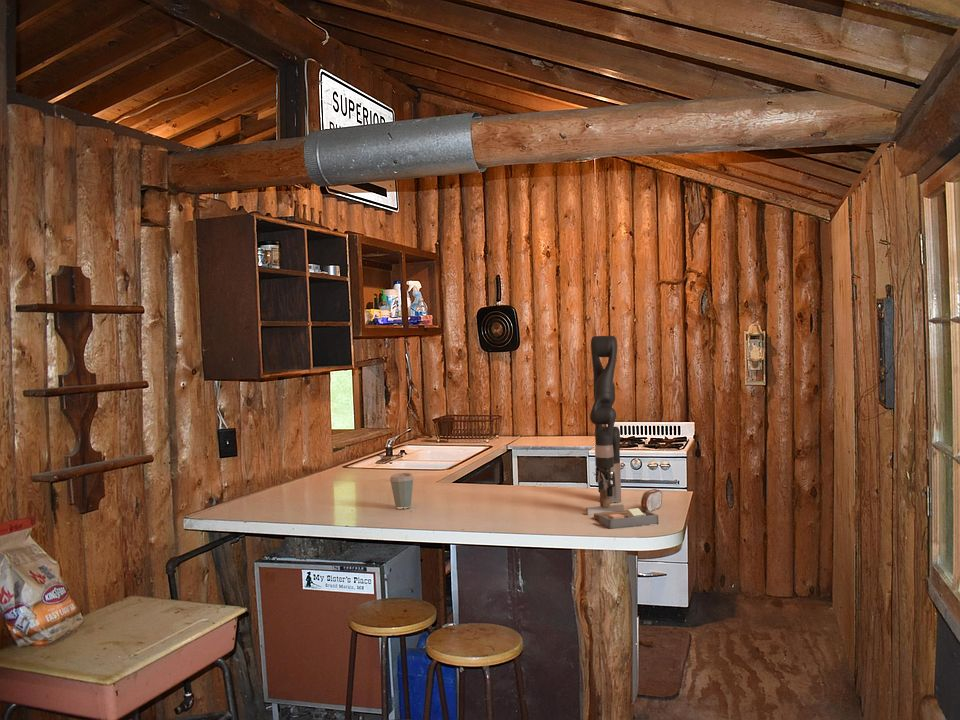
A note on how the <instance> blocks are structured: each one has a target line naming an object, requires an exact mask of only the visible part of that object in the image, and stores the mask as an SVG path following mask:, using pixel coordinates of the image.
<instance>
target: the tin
mask: <svg viewBox="0 0 960 720" xmlns="http://www.w3.org/2000/svg"><path fill="white" fill-rule="evenodd" d="M662 503H663V492H662V491H661V489H656V488H653V489H649V490H646V491H645V492H643V494H642V496H641V501H640V506H641V511H642V512H646V511H649V512H650V511H651V512H653V510H654V511H656V510H655V509H657V510H659V509H660V508H661V506H662ZM658 508H659V509H658Z"/></svg>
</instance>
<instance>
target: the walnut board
mask: <svg viewBox="0 0 960 720" xmlns="http://www.w3.org/2000/svg"><path fill="white" fill-rule="evenodd" d="M627 513H628V509H627V510H624V511H615V512H604V513H594V515H593V519H594V518H595V519H594V520H597V521H598V522H600V515H603V516H605V517H607V518H608V515H612V514H620V515H623V516H624V518H628V516H627Z"/></svg>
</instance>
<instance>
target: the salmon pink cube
mask: <svg viewBox="0 0 960 720" xmlns="http://www.w3.org/2000/svg"><path fill="white" fill-rule="evenodd" d="M608 518H609V519H617V518H624V516H623V515H620V514H612V515H608Z"/></svg>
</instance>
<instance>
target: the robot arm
mask: <svg viewBox="0 0 960 720" xmlns="http://www.w3.org/2000/svg"><path fill="white" fill-rule="evenodd" d="M590 351H591V362H592V372H593V373H592V375H593V376H592V377H593V400H594V401H593V405H592V407H591V411H590V414H589V415H590V416H589V419H590V422H591V423H592V424H594V427H595V428H594V439H595V448H594V455H595V456H594V459H595V461H594V462H595V482H597V485H598V493H599V494H600V489H607V496H608V497H610V504H615V503H614V502H616V503H620V502H622V483H621V482H622V481H621V480H622V478H621V477H622V476H621V456H620V455H621V451H620V449H621V446H620V445H621V431H620V428H619V427H618V426H615V423H616V419H617V411H616V410H615V408H614V407H613V405H614V403H615V401H616V385H615V382H614V374H615V369H616V363H617V356H618V355H617V354H618V340H617V337H616V336H615V335H594V336H592V337H591V339H590ZM601 358H608V360H607V363H606V366H605V367H603V365H602V362H601ZM604 425H606V426H604Z"/></svg>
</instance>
